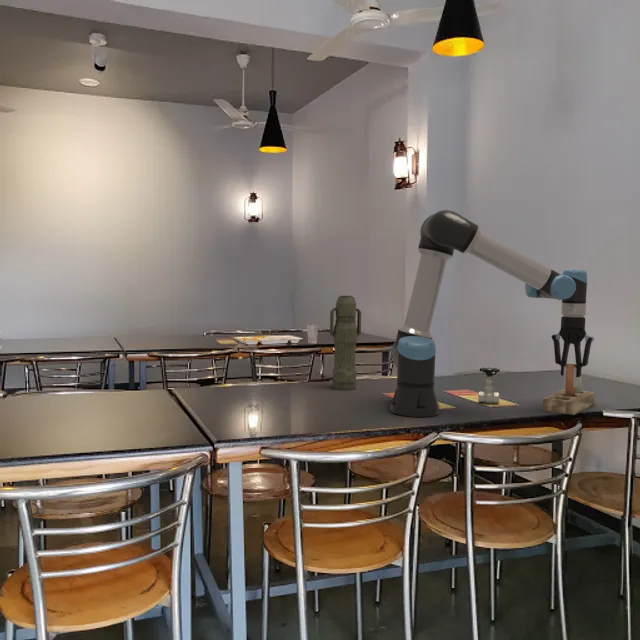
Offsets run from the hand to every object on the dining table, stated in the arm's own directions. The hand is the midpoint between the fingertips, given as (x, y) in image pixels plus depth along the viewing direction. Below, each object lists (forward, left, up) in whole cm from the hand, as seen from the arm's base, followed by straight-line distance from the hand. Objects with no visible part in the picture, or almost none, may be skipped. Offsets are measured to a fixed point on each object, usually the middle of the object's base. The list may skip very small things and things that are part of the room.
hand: (570, 385), depth 213 cm
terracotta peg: (0, 0, -3) cm, 3 cm away
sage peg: (0, +8, -7) cm, 11 cm away
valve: (-23, -13, -7) cm, 28 cm away
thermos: (-76, -23, -7) cm, 80 cm away
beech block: (0, 0, -7) cm, 7 cm away
